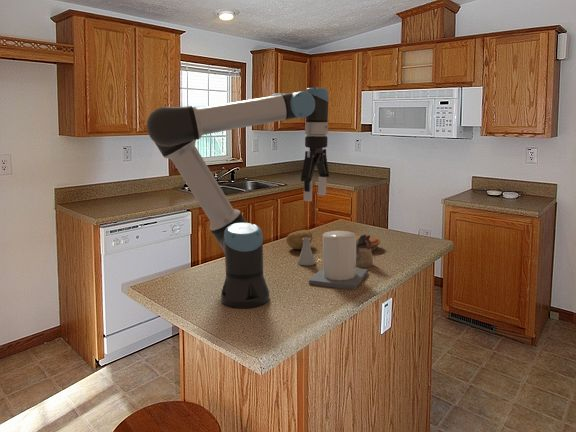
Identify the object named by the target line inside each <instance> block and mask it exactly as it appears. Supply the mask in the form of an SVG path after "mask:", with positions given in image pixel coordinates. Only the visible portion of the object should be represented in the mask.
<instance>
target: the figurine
mask: <svg viewBox="0 0 576 432" xmlns="http://www.w3.org/2000/svg"><path fill="white" fill-rule="evenodd" d="M360 235H361V236H360V237H359V238H358V240H357V242H356V243H357V245H356V267H359V268H369V267H372V266H373V265H374V264H373V263H374V262H373V261H374V260H373V258H374V257H373V254H372V253H373V251H371V248H370V247H371V241H370V240H369V238H370V236H371V235H370V234H368V235H367V236H366V234H365V233H363V234H360ZM366 243H368V244H369V245H367V244H366Z"/></svg>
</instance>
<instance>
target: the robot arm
mask: <svg viewBox="0 0 576 432" xmlns="http://www.w3.org/2000/svg"><path fill="white" fill-rule="evenodd" d="M329 103H330V102H329V90H328V89H327V88H326V87H307V88H306V89H305V91H303V90H300V91H295V92H289V93H286V92H285V93H284V92H283V93H282V92H280V93H272V94H271V96H270V95H269V96H265V97H259V98H251V99H247V100H241V101H235V102H228V103H222V104H215V105H210V106H205V107H199V108H198V107H196V106H194V105H188V106H161V107H159V108H156V109H155V110H153V111H151V113H150V114H149V115H148V118H147V120H146V131H147V134H148V135H149V137H150V139H151V140H152V141H153V142H154V143H155V146H156V147H157V149H158V150H159V151H160V152H159V153H161V155H162V156H163V158H164V159H168V160H171V162H172V163H173V165H174V166H175V168H176V170H177V171H178V173H179V175H181V177H182V179H183V180H184V182H185V183H186V185H187V187H188V189H189V190H190V192H191V193H192V195H193V196H194V198H195V199H196V201H197V202H198V204H199V206H200V208H201V209H202V210H203V212H204V214H205V215H206V217H207V218H208V221H209V222H210V225H209V230H210V232H211V234H212V235H213V237H214V238H215V240H216V242H217V243H218V245H219V246H220V248H221V249H222V252H223V254H224V259H225V260H224V261H225V279H224V282H223V286H222V289H221V293H220V297H221V299H220V300H221V301H220V302H221V303H222V304H223V305H225V306H227V307H231V308H235V309H251V308H257V307H260V306H263V305H265V304H266V303H268V302H269V301H270V289H269V287H268V283H267V282H266V279H265V276H264V253H263V252H264V251H263V249H264V248H263V244H264V243H263V241H264V235H263V232H262V229H261V227H260V226H259V225H257V224H255V223H250V222H247V220H246V218H245V217H244V216H243V213H242V212H241V211H240V209H236V208H233V206H232V204H231V203H230V201H229V200H228V198H227V196H226V194H225V193H224V190H223V189H222V188H221V186H220V185H219V183H218V181H217V180H216V178H215V176H214V175H213V173H212V172H211V170H210V168H209V166H208V165H207V164H206V161H205V160H204V158H203V156H202V155H201V154H200V151H199V150H198V148H197V147H196V142H197V141H198V140H200V139H201V138H202V137H203V136H204V135H208V134H215V133H221V132H226V131H230V130H236V129H243V128H248V127H254V126H258V125H264V124H269V123H274V122H281V121H284V120H285V121H287V120H288V121H289V120H292V119H299V118H300V119H305V125H304V126H305V127H304V135H306V136H305V137H304V147H305V148H308V149H309V150H305V152H304V161H303V166H302V172H301V176H300V181H301V182H303V202H312V201H313V181H312V179H313V176H314V172H315V168H317V171H318V175H319V176H318V178H317V179H318V180H317V181H318V185H317V187H318V188H317V196H322V197H323V196H326V195H327V178H329V177H330V174H329V172H330V171H329V164H328V158H327V157H328V156H327V149H326V148H328V140H329V139H328V136H327V135H328V133H329V132H328V129H329V128H330V126H329Z"/></svg>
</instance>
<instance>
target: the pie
mask: <svg viewBox="0 0 576 432" xmlns="http://www.w3.org/2000/svg"><path fill="white" fill-rule="evenodd" d="M361 235H362V234H356V242H357V240H358V238H359V237H360V236H361ZM365 235H366V234H365ZM366 236H368V235H366ZM369 240H370V241H371V247H370V248H371V252H374V251H375V250H377V248H378V246H379V245H380V244H381V240H380V239H379V238H377V237H375V236H373V235H372V236H371V235H370V238H369ZM366 244H367V245H369V244H368V243H366ZM356 245H357V243H356Z"/></svg>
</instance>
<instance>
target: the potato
mask: <svg viewBox="0 0 576 432" xmlns="http://www.w3.org/2000/svg"><path fill="white" fill-rule="evenodd" d="M303 238H310V239H311V240H310V244H311V243H312V240H313V232H312V231H310V230H309V229H302V230H297V231H293V232H290V233H289V234H288V235H287V236H286V245H288V246H289V247H290V248H292V249H293V250H302V248H303Z"/></svg>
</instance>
